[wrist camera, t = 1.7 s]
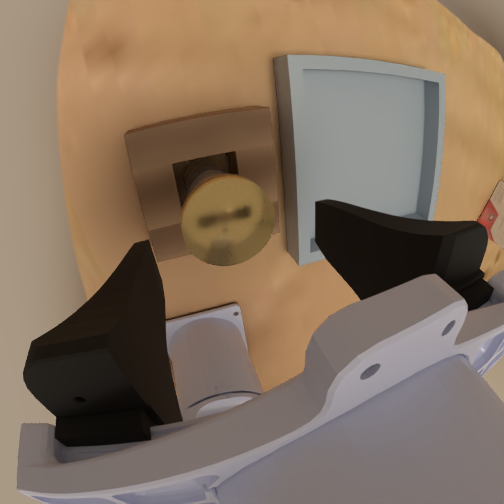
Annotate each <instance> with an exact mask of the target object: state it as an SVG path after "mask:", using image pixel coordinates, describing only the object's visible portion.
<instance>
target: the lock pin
mask: <svg viewBox="0 0 504 504" xmlns="http://www.w3.org/2000/svg"><path fill="white" fill-rule="evenodd" d="M183 183H184V187H185V190H186V194H187V198H186V200H185V202H184V204H183V207H182V211H181V217H180V221H181V229H182V234H183V238H184V241H185V243H186V245H187V247H188V249H189V250H190V251H191V252H192V253H193V254H194V255H195V256H196V257H197V258H198V259H200V260H202V261H204V262H206V263H208V264H212V265H217V266H230V265H235V264H239V263H242V262H244V261H246V260H248V259H250V258H252V257H253V256H255V255H256V254H257V253H258V252H260V251H261V250H262V248H263V247H264V246H265V245H266V244H267V242H268V241H269V239H270V237H271V235H272V232H273V229H274V224H275V211H274V207H273V204H272V201H271V199H270V198H269V196H268V195H267V193H266V192H265V191H264V190H263V189H262V188H261V187H260V186H259V185H258V184H256V183H255V182H254V181H252V180H251V179H249V178H247V177H244V176H241V175H236V174H229V173H228V172H227V171H226V170H225V168H224V167H223V166H222V165H221V164H220V163H219V162H218V161H217V160H216V159H214V158H212V157H208V156H206V157H201V158H196V159H193V160H192V161H190V162H189V163H188V164H187V166H186V167H185V169H184V172H183Z"/></svg>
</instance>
